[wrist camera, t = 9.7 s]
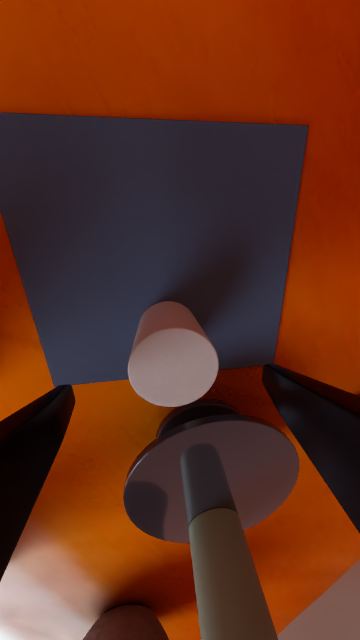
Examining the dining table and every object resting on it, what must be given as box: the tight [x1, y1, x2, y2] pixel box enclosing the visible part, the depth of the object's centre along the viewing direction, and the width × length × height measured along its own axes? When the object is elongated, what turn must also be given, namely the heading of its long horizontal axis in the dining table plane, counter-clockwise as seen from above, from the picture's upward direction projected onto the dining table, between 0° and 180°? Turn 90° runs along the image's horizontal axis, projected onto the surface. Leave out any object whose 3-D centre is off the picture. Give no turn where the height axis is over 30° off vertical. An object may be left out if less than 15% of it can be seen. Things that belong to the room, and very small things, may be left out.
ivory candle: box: [128, 301, 219, 407], centre depth 12 cm, size 5×5×6 cm
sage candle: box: [189, 508, 278, 640], centre depth 14 cm, size 5×5×6 cm
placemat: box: [0, 113, 309, 387], centre depth 14 cm, size 20×18×1 cm
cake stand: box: [123, 399, 299, 543], centre depth 18 cm, size 15×15×5 cm
